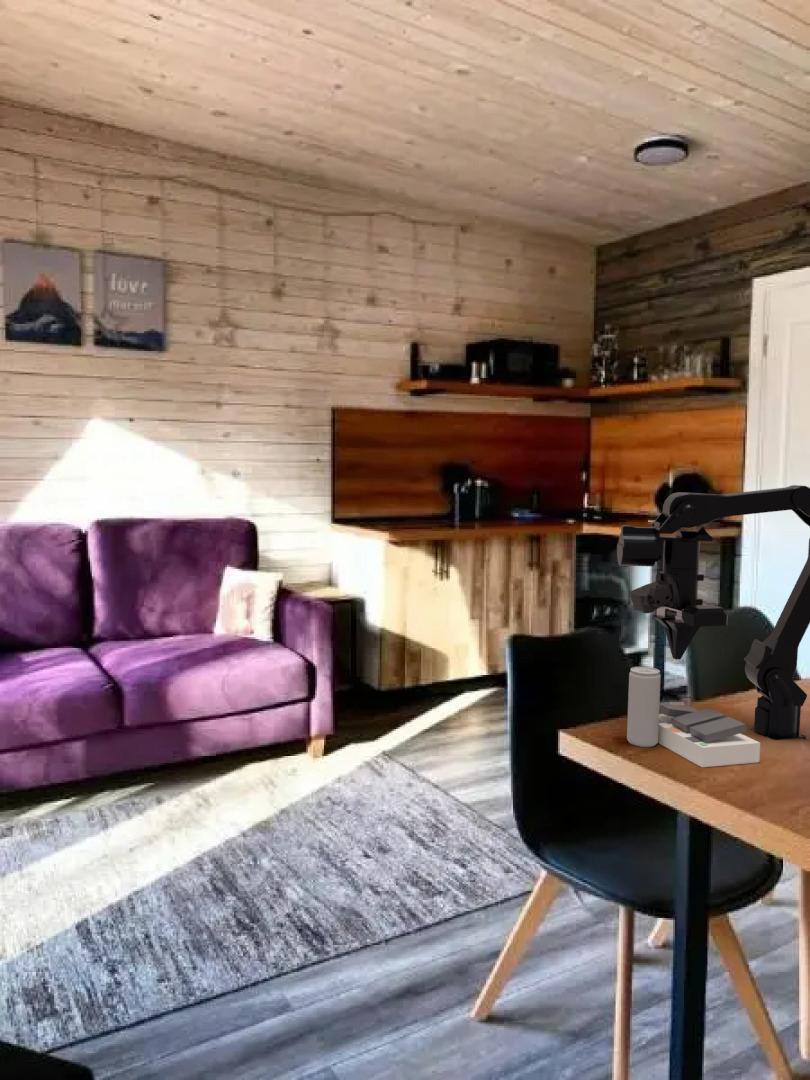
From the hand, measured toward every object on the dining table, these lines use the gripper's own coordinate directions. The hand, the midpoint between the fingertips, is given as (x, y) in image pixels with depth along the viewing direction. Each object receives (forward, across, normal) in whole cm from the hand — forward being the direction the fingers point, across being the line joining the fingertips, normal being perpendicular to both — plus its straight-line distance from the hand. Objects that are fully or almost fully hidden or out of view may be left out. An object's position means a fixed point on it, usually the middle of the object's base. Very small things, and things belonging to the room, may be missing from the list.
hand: (676, 659), depth 145 cm
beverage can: (+12, +6, -10) cm, 17 cm away
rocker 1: (+8, +4, -2) cm, 9 cm away
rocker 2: (+8, +10, -2) cm, 12 cm away
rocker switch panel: (+12, +10, -2) cm, 15 cm away
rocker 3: (+8, +14, -2) cm, 16 cm away
